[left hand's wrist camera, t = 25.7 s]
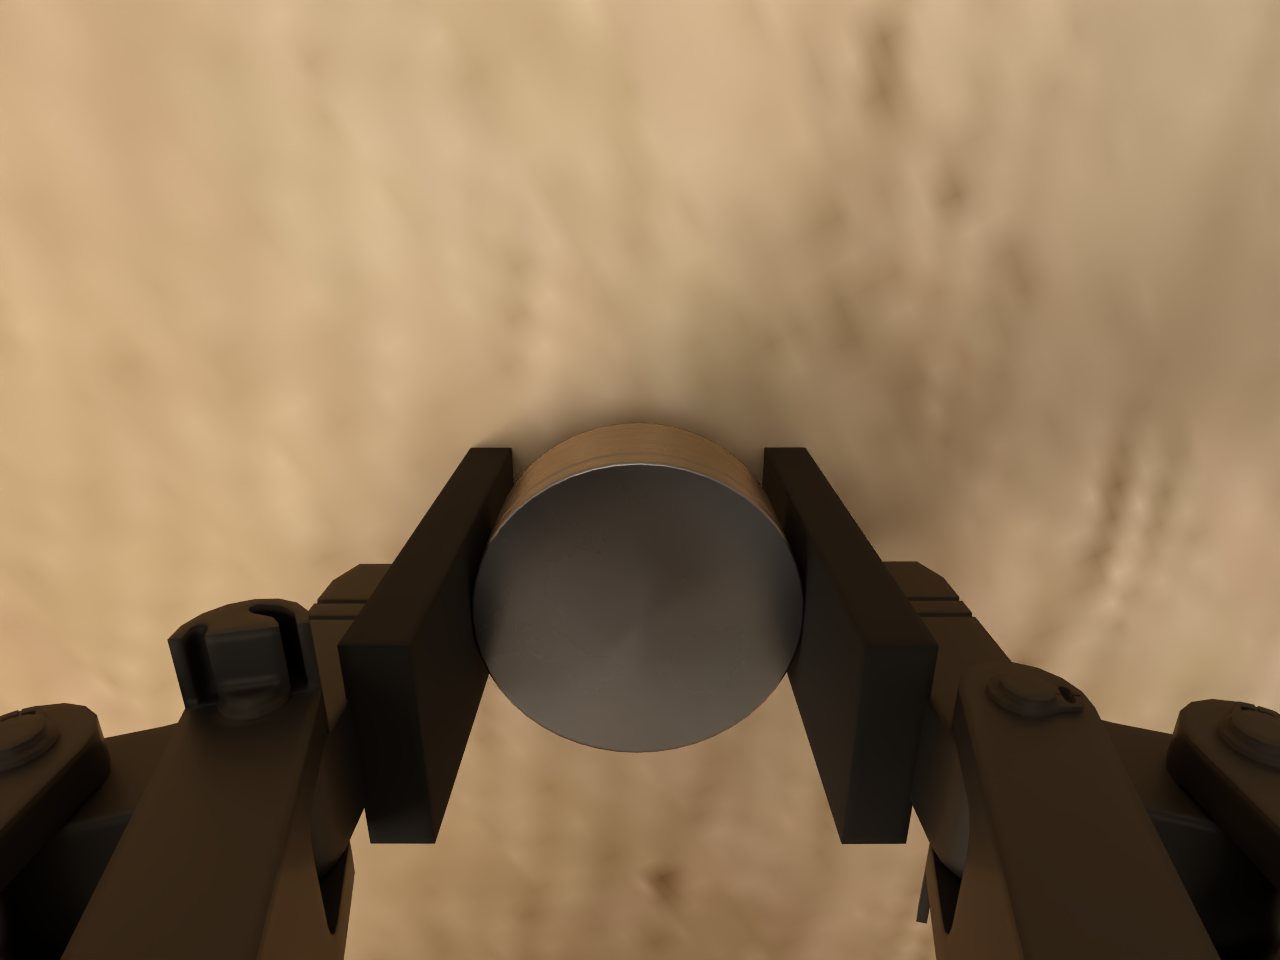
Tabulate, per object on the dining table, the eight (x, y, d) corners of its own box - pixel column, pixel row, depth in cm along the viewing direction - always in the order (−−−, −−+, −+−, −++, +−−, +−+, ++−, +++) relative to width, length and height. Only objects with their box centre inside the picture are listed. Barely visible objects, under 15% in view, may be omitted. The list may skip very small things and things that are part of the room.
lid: (832, 488, 12) (866, 537, 10) (707, 715, 13) (719, 790, 12) (553, 375, 11) (538, 408, 9) (455, 627, 13) (427, 694, 11)
